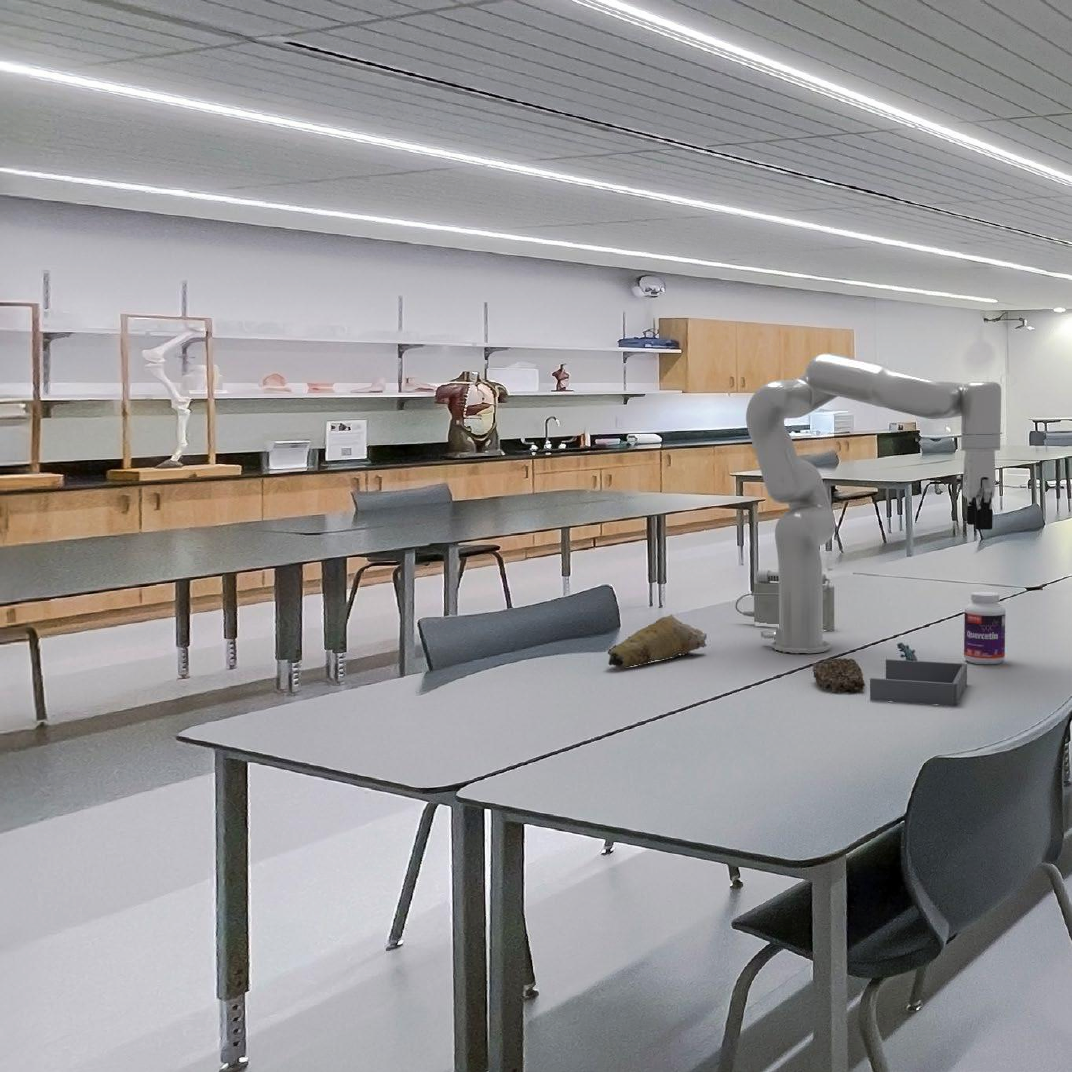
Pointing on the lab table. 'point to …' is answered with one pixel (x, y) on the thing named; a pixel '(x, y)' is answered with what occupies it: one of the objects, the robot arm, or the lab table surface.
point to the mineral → (657, 643)
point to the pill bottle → (984, 629)
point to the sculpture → (907, 652)
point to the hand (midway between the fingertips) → (979, 526)
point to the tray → (920, 682)
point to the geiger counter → (769, 600)
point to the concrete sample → (839, 675)
